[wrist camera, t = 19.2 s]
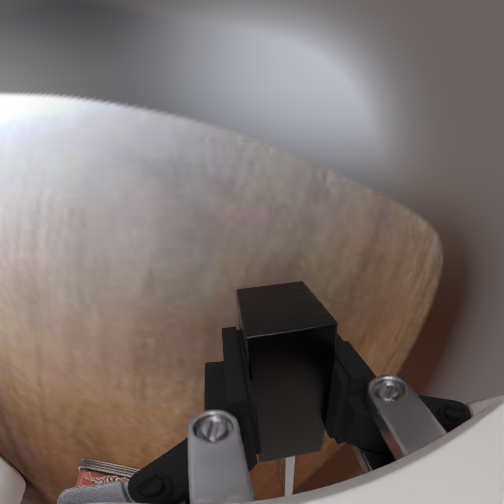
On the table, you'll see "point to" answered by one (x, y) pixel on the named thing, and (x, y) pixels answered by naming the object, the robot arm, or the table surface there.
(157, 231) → the table surface
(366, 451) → the robot arm
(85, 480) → the lighter
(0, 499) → the mug
